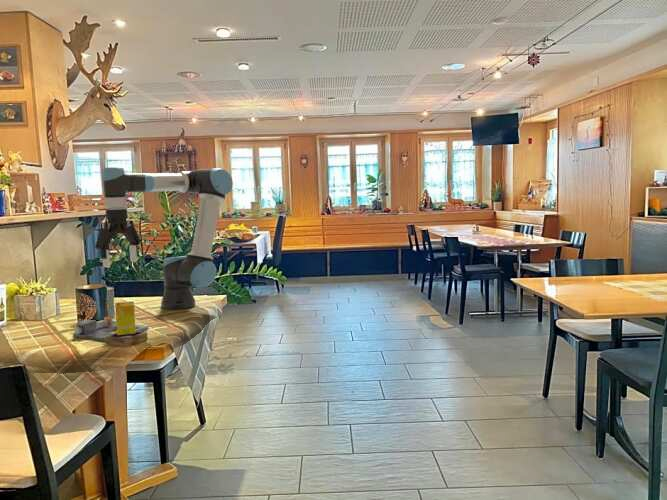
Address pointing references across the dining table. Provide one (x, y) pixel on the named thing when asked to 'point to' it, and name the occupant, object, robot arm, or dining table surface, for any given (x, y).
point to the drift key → (102, 323)
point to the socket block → (100, 330)
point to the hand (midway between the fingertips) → (120, 264)
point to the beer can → (110, 302)
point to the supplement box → (125, 319)
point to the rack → (126, 339)
